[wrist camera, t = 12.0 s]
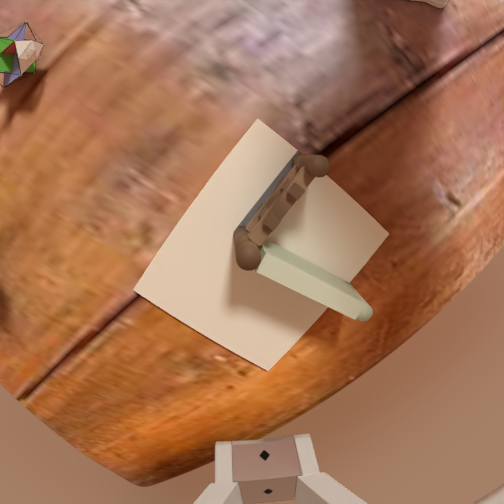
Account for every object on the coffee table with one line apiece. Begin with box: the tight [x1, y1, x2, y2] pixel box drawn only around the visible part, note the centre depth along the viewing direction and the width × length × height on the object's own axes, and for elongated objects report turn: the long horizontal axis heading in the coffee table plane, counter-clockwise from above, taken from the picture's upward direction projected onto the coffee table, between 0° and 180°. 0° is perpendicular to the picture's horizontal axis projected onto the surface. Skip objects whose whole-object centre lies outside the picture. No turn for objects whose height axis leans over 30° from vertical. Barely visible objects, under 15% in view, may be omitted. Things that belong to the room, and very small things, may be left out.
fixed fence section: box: [233, 154, 330, 271], centre depth 28 cm, size 11×2×7 cm, turn 142°
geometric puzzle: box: [0, 21, 45, 89], centre depth 20 cm, size 7×7×8 cm
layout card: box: [133, 119, 389, 371], centre depth 33 cm, size 22×19×1 cm
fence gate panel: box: [255, 239, 373, 322], centre depth 30 cm, size 12×2×6 cm, turn 61°
